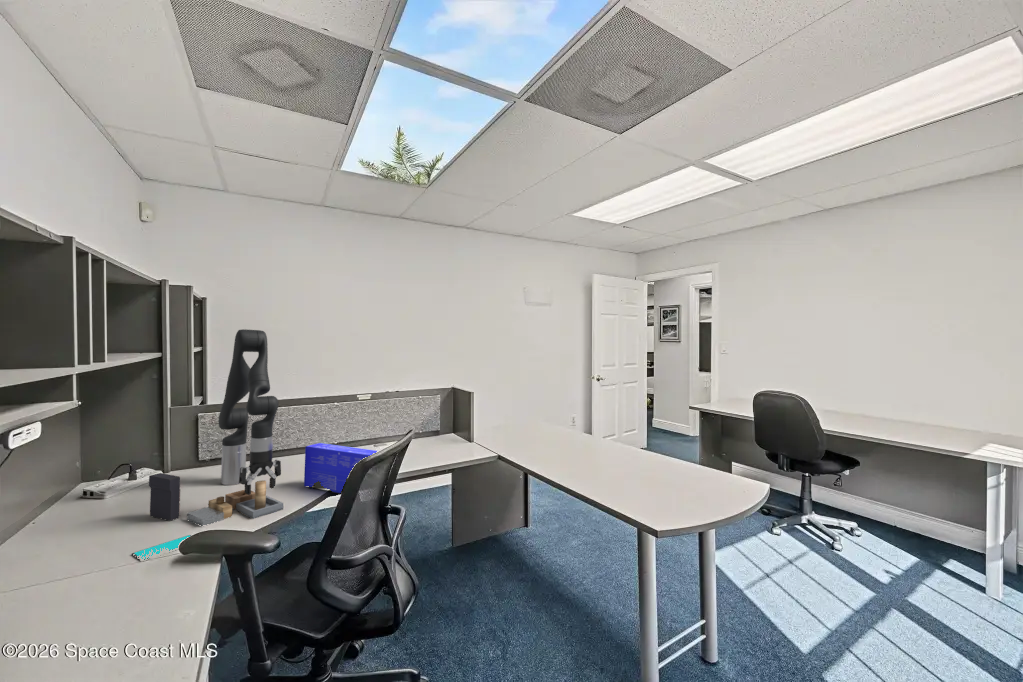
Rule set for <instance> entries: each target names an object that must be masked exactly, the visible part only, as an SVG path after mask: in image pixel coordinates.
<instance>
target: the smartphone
mask: <svg viewBox="0 0 1023 682" xmlns="http://www.w3.org/2000/svg"><path fill="white" fill-rule="evenodd" d="M190 536H192V535H191V534H187V535H184V536H181V537H179V538H175V539H173V540H169V541H166V542H162V543H159V544H157V545H153V546H151V547H150V546H149V547H148V548H147V547H146V548H143V549H141V550H138V551H134V552H132V553H131V555H132V554H135V555H134V556H136V557H137V556H139V555H140V556H141V555H142V553H143V554H144V550H145V554H144V555H142V557H143V556H144V557H145V556H146V554H147V555H148V554H149V551H150V552H151V549H152V550H153V552H154V553H155V552H156V549H157V550H159V551H157V552H156V554H159V553H160V548H161V551H162V548H163V549H164V547H165V549H166V548H168V549H169V551H170V550H171V549H172V550H173V549H175V548H178V545H179V543H180V542H181V541H182V540H184V539H186V538H187V537H190ZM155 548H156V549H155ZM166 550H167V549H166ZM153 552H152V555H153ZM152 555H151V556H152ZM149 556H150V555H149ZM142 557H141V558H142ZM138 558H139V557H138ZM148 558H149V557H148ZM148 558H147V559H148ZM142 559H143V558H142ZM145 559H146V557H145ZM145 559H144V560H145ZM148 560H149V559H148Z"/></svg>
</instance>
